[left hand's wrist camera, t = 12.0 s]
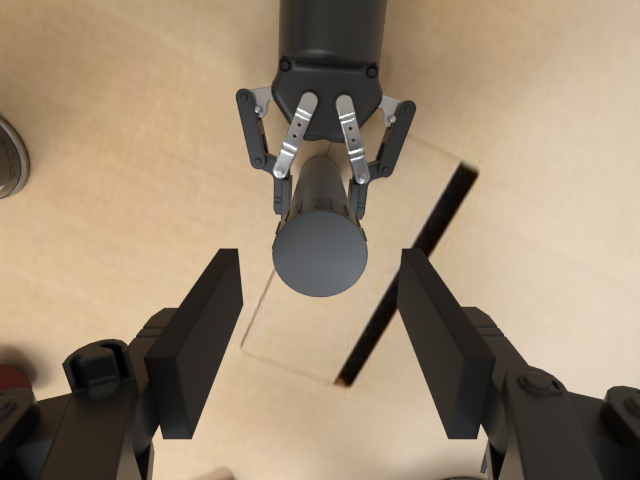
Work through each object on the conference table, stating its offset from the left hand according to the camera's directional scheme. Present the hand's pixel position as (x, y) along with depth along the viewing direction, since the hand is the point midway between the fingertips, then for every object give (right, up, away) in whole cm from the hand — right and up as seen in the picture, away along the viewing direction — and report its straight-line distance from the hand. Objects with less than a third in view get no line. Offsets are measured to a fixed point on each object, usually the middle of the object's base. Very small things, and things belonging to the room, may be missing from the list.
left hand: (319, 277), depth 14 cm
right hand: (0, +3, +15) cm, 16 cm away
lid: (0, +1, +2) cm, 3 cm away
